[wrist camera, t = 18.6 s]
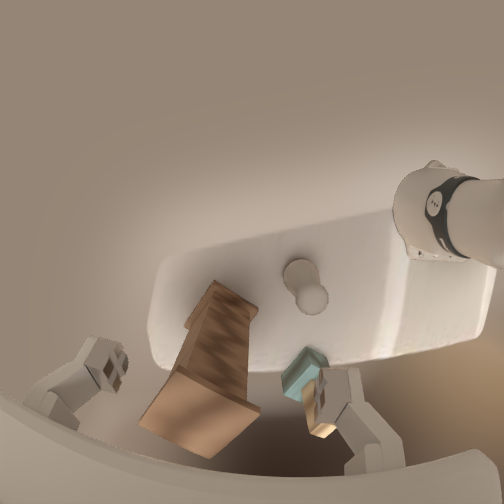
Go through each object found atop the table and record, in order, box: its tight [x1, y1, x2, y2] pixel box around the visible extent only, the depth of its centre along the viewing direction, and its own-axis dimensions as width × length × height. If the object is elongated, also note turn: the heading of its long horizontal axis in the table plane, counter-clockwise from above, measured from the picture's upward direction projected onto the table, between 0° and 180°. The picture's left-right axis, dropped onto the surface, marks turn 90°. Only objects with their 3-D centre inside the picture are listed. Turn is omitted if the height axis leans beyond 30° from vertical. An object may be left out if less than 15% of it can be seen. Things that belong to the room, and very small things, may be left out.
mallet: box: [281, 347, 337, 438], centre depth 44 cm, size 17×8×5 cm
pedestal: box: [138, 280, 261, 459], centre depth 37 cm, size 9×10×26 cm
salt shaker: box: [283, 259, 328, 315], centre depth 42 cm, size 6×6×13 cm
